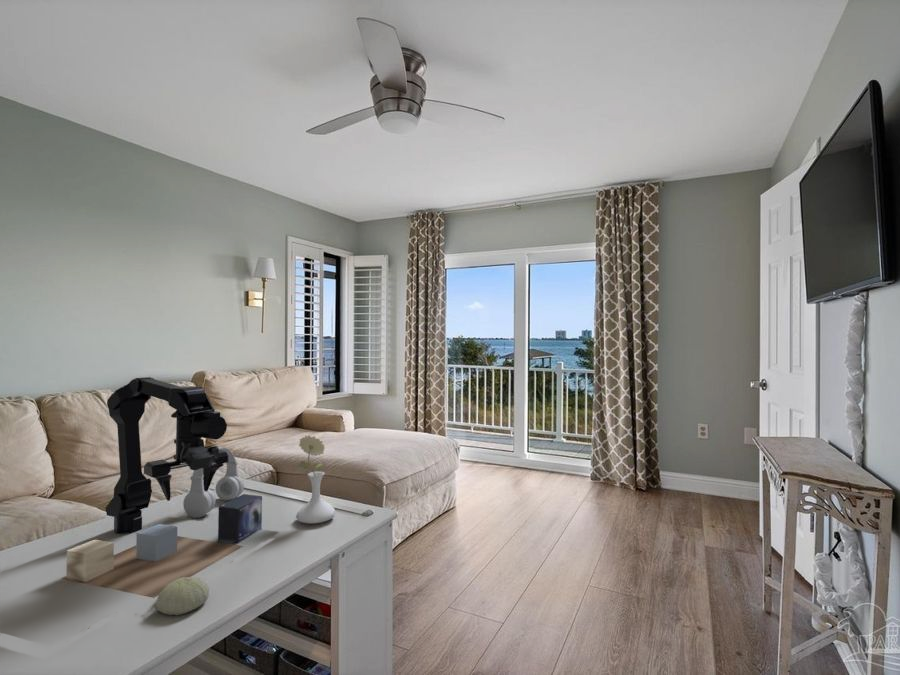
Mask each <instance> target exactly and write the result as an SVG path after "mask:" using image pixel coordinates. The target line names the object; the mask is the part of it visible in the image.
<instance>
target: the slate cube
mask: <svg viewBox="0 0 900 675" xmlns="http://www.w3.org/2000/svg"><path fill="white" fill-rule="evenodd" d="M135 533H136V534H135V536H136V539H135V540H136V541H135V543H136V544H135V546H136V558H138V559H143V560H149V561H155V562H156V561H158V560H160V559H162V558H164V557H166V556H168V555H170V554H172V553H174V552H176V551H177V536H178V526H177V525H168V524H163V523H158V524H155V525H153V526H150V527H148V528H145V529H143V530H140V531H137V532H135Z"/></svg>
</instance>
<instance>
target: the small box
mask: <svg viewBox="0 0 900 675" xmlns="http://www.w3.org/2000/svg"><path fill="white" fill-rule="evenodd" d="M262 513H263V496H261V495H254V494H247V493H244V494H241V495H240V496H238V497H237V498H234V499H232V500H228V501H227V502H224V503H222V504H221V505H219V506H218V521H217V522H218V523H217V524H218V525H217V527H218V529H217V542H220V543H226V544H239V543H241V542H243V541H245V540H246V539H247V538H249V537H251V536H252V535H254V534H256V533H257V532H259V531H262V529H263V528H262V524H263V522H262V521H263V520H262V518H263V516H262V515H263V514H262Z"/></svg>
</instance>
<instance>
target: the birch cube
mask: <svg viewBox="0 0 900 675" xmlns="http://www.w3.org/2000/svg"><path fill="white" fill-rule="evenodd" d="M114 544H115V543H114V542H113V541H105V540H99V539H93V540H90V541H87V542H85V543H82V544H79V545H77V546H75V547H73V548H69V549H66V574H65V575H66V578H69V579H74V580H79V581H84V582H87V581H89V580H91V579H93V578H95V577H97V576H100V575H102V574H104V573H106V572H108V571H110V570H112V569H114V555H115V554H114V551H115V550H114V549H115V546H114Z"/></svg>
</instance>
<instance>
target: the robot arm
mask: <svg viewBox="0 0 900 675" xmlns="http://www.w3.org/2000/svg"><path fill="white" fill-rule="evenodd" d="M151 398H156V399H159V400H163V401H166V402H168V406H170V407H171V408H172V409H174V410H176V411H174V412H172V414H170V417H171V418H173V419H174V418H175V419H176V421H175V422H176V428H175V429H176V430H175V438H174V439H173V443H174V444H175V454H173V460H174V461H167V460H164V459H158V460H152V461H147V462H146V463H145V464H144V465H143V468H142V454H141V453H142V452H141V436H140V421H141V419H142V417H143V415H144V414H145V410H146V404H147V403H148V402H149V401H150V400H151ZM106 405H107V408H108V415H109V417H110V418H111V419H112V420H113V421H114V423H116V425H117V440H118V456H119V473H120V477H119V479H118V481H117V482H116V484H115V486H114V488H113V497H112V498H111V500H109V502H108V504H107V505H106V506H105V513H106V516H109V517H112V518H113V531H114V532H115V534H119V535H121V534H122V535H123V534H133V533H138V532H140V531H142V529H143V515H142V514H143V513H142V510H143V509H147V508H149V505H150V501H151V498H152V494H153V490H152V479H151V478H153V479H155V480H156V481H157V484H159V487H160V488H161V491H162V493H163V494H164V497H165V500H166V501H168V502H169V501H171V494H172V493H171V478H172V475H171V474H170V473H171V472H172V470H175V469H180V468H186V467H189V470H191V471H194V470H198V469H201V468H203V488H204V491H208V489H209V490H210V486H211V483H212V481H213V478H214V476H215V474H216V472H217V471H218V470H219V469H220V468H222V467H224V466H225V464H226V463H228V462H229V455H228V453H227V452H225V451H222V450H219V448H218V447H219V446H217V445H214V446H209V447H205V441H204V439H211V440H219V439H221V438H222V437H223V436H224V435H225V433H226V432H227V429H228V428H227V427H228V424H227V422H226V420H225V418H224V417H222V416H221V411H215V407H214V405H213V403H212V402H211V400H210V398H209V396H208V393H207V392H206V390H205V388H204V387H202V386H201V385H200V386H194V385H193V386H189V385H186V386H185V385H184V386H181V385H180V386H179V385H176V384H172V383H169V382H166V381H162V380H158V379H155V378H153V377H150V376H147V377H134V378H133V379H132V380H130V382H128V383H127V384H125V385H123V386H121V387H120V388H117V389H116V390H115V391H114V392H113V393H112V394H111V395H110V396H109V397H108V398H107V401H106ZM145 475H146V476H147V477H148V476H149V477H150V478H147V477H146V476H145Z"/></svg>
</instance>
